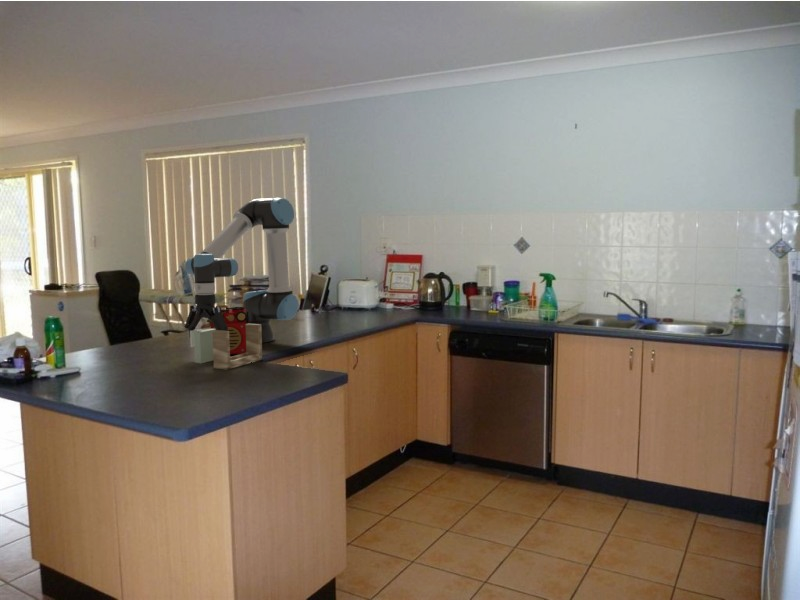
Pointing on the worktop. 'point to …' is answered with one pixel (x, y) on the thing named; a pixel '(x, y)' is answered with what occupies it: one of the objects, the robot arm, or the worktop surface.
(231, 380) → the worktop surface
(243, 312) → the radio
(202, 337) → the door panel
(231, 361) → the u-shaped stone holder
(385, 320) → the worktop surface
